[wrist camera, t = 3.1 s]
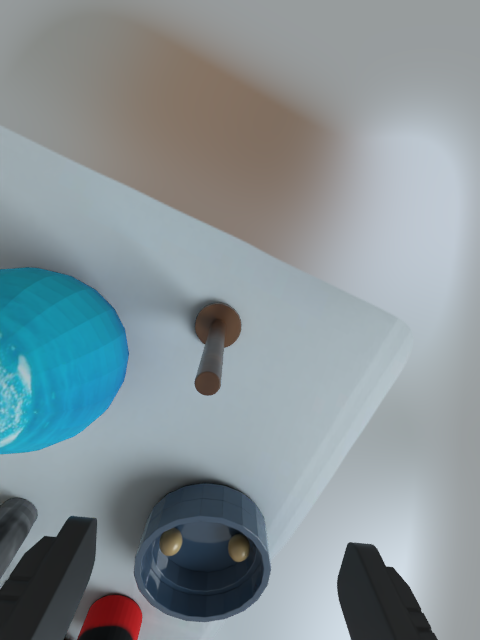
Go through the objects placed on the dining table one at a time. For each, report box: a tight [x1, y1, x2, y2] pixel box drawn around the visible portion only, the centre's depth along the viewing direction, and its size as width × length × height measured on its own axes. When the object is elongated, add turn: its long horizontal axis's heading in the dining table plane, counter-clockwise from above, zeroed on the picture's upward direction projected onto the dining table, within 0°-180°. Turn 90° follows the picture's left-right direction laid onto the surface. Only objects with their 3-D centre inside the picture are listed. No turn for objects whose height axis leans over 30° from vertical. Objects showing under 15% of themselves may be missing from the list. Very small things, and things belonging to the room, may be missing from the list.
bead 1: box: [159, 528, 182, 556], centre depth 36 cm, size 3×3×3 cm
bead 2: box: [228, 534, 250, 562], centre depth 37 cm, size 3×3×3 cm
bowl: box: [134, 483, 271, 622], centre depth 36 cm, size 16×16×5 cm
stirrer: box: [195, 303, 241, 395], centre depth 25 cm, size 5×5×15 cm
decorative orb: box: [0, 267, 129, 454], centre depth 25 cm, size 15×15×15 cm
